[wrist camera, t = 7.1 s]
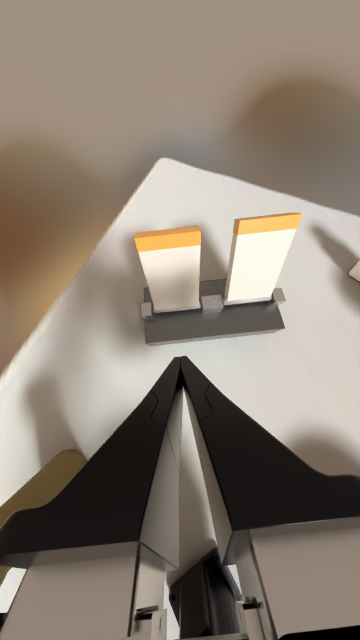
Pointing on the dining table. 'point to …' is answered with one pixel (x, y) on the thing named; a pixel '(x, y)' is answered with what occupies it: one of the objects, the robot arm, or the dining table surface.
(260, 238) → the white orange-topped slab
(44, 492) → the pepper shaker
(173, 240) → the panel
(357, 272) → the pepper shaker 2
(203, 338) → the light switch frame
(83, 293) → the dining table surface
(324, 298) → the dining table surface
